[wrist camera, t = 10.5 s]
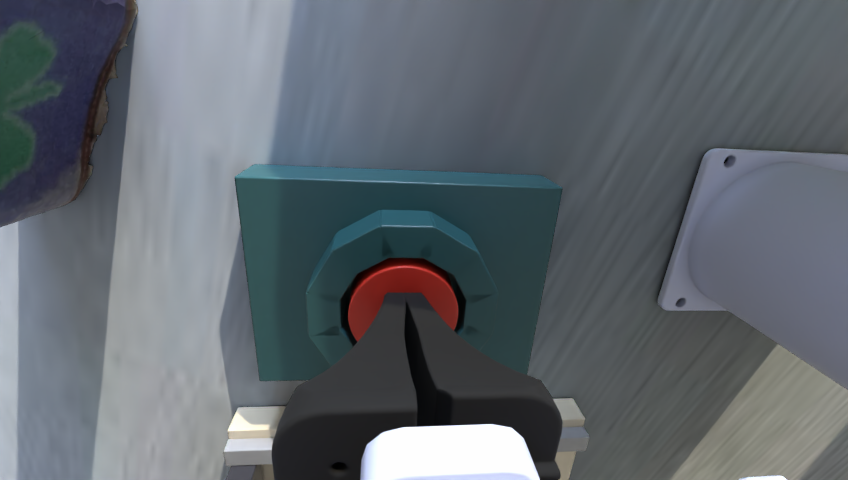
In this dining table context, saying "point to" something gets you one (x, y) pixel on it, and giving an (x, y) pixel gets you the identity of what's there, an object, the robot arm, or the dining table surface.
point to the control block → (390, 254)
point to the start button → (400, 290)
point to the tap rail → (259, 424)
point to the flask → (54, 96)
